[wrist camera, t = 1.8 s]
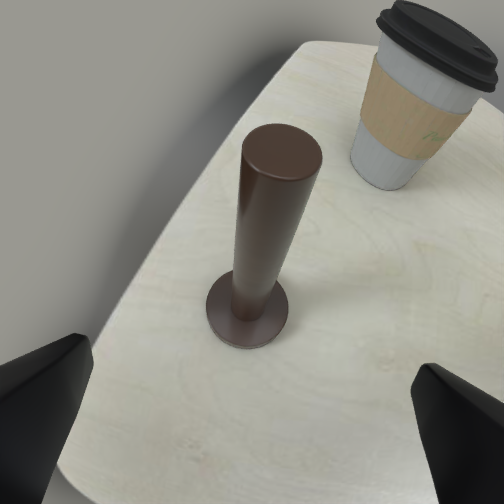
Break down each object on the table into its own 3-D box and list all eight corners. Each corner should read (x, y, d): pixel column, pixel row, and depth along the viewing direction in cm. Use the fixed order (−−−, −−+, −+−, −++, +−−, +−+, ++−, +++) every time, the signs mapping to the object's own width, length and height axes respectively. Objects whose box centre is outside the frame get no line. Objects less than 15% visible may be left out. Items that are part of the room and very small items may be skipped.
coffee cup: (411, 226, 24) (517, 90, 11) (314, 170, 26) (369, 3, 12) (428, 162, 28) (499, 48, 14) (349, 117, 30) (395, -10, 16)
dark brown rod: (290, 344, 19) (406, 232, 7) (210, 352, 19) (177, 247, 6) (279, 270, 21) (345, 95, 9) (204, 276, 21) (182, 93, 8)
